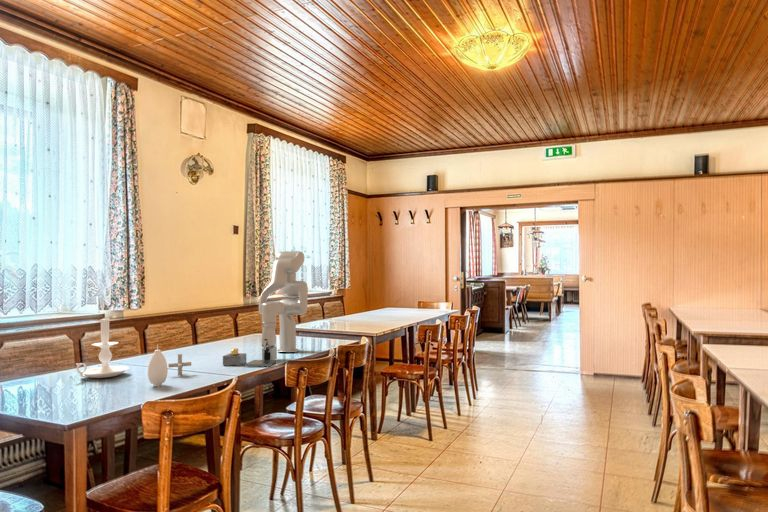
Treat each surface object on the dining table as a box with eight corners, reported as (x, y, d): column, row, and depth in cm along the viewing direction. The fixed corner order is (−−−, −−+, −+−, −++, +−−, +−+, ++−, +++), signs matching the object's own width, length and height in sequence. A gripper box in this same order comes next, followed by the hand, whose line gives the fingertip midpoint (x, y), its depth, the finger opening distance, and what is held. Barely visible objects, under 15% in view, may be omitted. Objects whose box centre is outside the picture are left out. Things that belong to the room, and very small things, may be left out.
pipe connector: (168, 374, 248) (168, 353, 248) (190, 372, 252) (190, 351, 252) (169, 378, 239) (168, 356, 239) (192, 376, 243) (192, 354, 243)
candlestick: (61, 381, 237) (61, 319, 238) (110, 371, 260) (110, 314, 260) (91, 384, 228) (90, 320, 229) (139, 374, 251) (138, 315, 251)
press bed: (254, 362, 276) (254, 359, 276) (275, 362, 274) (275, 360, 274) (245, 367, 264) (245, 364, 264) (267, 367, 263) (267, 364, 263)
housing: (266, 359, 286) (265, 346, 286) (276, 359, 285) (276, 346, 285) (262, 361, 280) (262, 348, 280) (272, 361, 279) (272, 348, 279)
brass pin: (232, 357, 274) (232, 348, 274) (239, 357, 274) (239, 348, 274) (230, 358, 271) (229, 349, 271) (236, 358, 270) (236, 349, 270)
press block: (230, 362, 277) (230, 353, 277) (246, 362, 276) (246, 353, 276) (222, 365, 268) (222, 356, 268) (239, 366, 267) (239, 356, 267)
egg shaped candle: (146, 388, 218) (146, 345, 219) (149, 384, 226) (149, 343, 226) (166, 387, 220) (166, 344, 221) (168, 383, 228) (168, 342, 228)
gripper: (267, 323, 292) (268, 356, 291) (256, 327, 275) (256, 361, 274) (280, 323, 291) (281, 356, 290) (270, 327, 274) (270, 361, 273)
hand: (269, 358), depth 282 cm, fingers closed on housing, 6 cm apart
